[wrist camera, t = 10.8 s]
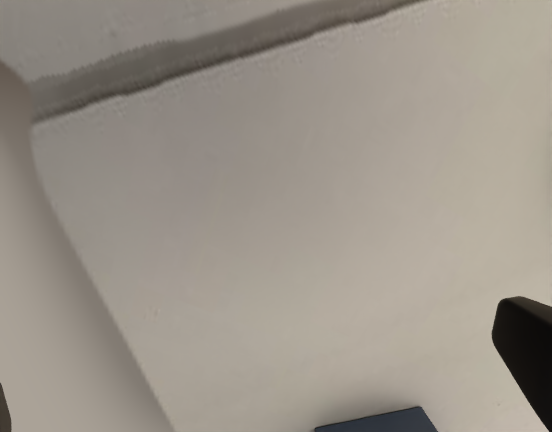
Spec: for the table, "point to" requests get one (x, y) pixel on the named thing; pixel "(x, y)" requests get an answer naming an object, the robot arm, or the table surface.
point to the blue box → (386, 423)
